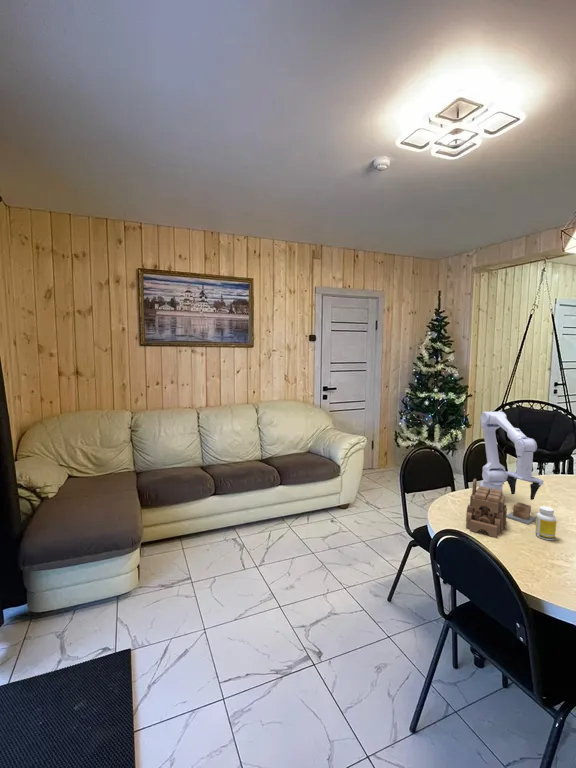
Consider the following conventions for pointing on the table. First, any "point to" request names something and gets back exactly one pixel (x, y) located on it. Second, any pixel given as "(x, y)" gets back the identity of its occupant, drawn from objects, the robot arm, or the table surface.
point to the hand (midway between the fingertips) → (522, 496)
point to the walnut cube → (521, 510)
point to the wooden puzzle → (486, 510)
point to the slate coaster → (521, 519)
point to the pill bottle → (546, 523)
